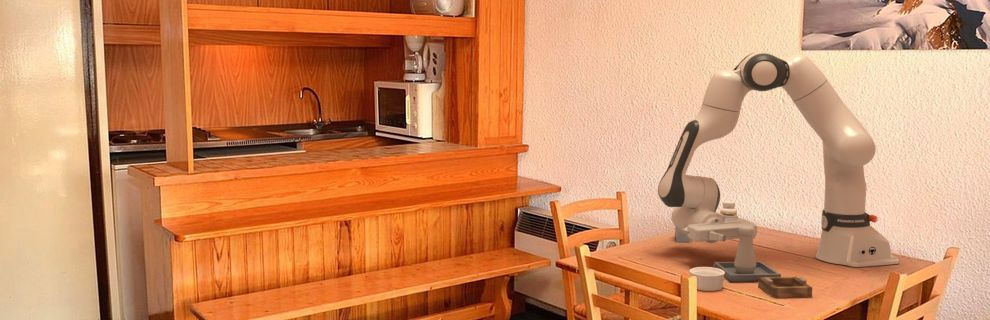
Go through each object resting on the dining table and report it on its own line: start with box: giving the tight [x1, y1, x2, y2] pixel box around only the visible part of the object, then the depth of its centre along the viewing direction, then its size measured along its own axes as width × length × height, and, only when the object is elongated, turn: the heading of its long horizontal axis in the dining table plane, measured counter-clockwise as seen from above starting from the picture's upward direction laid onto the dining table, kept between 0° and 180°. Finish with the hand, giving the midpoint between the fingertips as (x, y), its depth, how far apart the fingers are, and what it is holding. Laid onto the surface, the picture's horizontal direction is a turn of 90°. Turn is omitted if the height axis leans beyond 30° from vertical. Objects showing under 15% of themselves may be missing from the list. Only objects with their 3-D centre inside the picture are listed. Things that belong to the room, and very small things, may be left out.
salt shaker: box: [733, 225, 756, 274], centre depth 234 cm, size 6×6×13 cm
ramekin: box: [689, 266, 725, 292], centre depth 224 cm, size 9×9×4 cm
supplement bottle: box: [719, 200, 738, 216], centre depth 290 cm, size 5×5×10 cm
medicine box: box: [674, 227, 692, 244], centre depth 277 cm, size 8×4×9 cm, turn 172°
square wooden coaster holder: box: [757, 276, 813, 299], centre depth 219 cm, size 10×10×3 cm
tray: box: [713, 260, 782, 284], centre depth 235 cm, size 14×14×2 cm
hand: (738, 237), depth 238 cm, fingers open, 8 cm apart
